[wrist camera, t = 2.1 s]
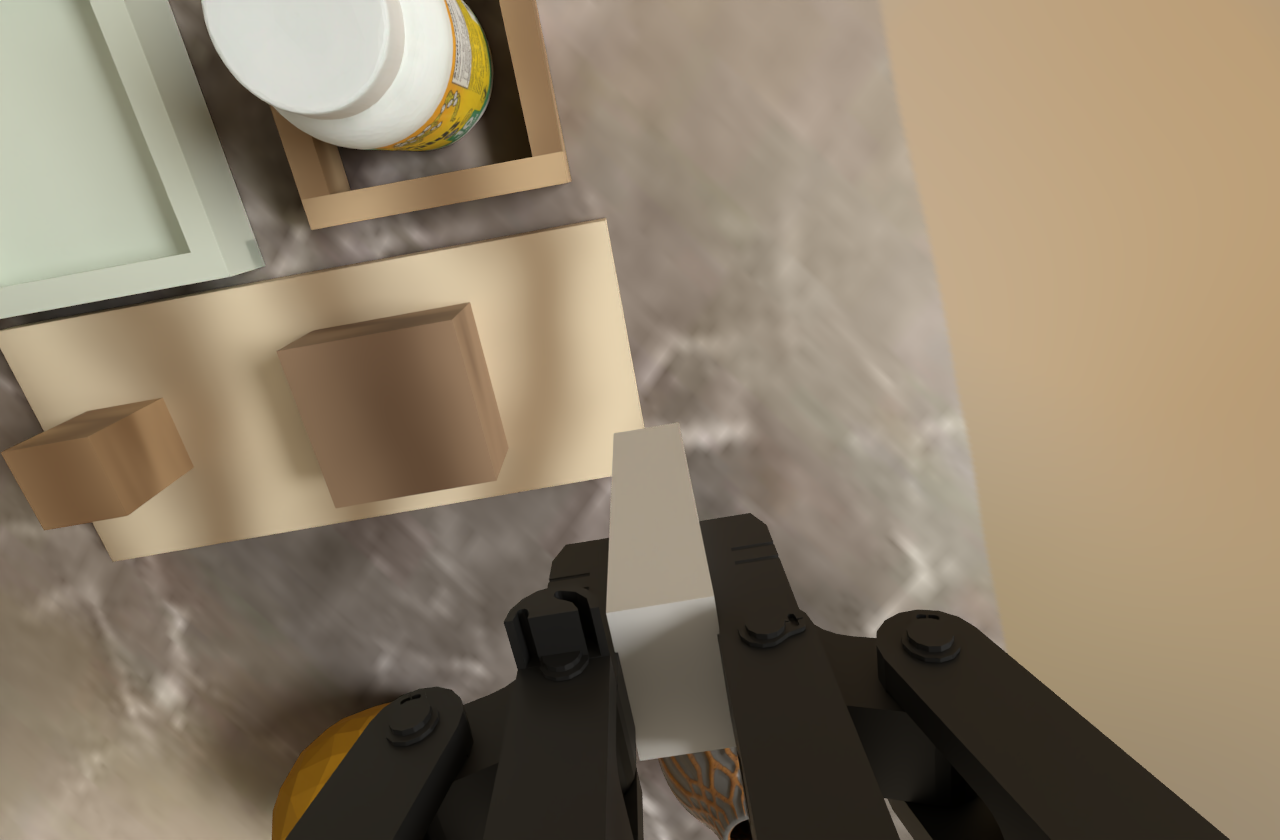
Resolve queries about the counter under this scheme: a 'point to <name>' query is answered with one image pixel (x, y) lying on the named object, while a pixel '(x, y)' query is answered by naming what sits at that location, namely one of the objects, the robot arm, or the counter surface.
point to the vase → (710, 790)
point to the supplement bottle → (360, 67)
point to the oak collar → (548, 166)
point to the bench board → (266, 410)
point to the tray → (108, 159)
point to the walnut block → (397, 405)
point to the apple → (316, 769)
